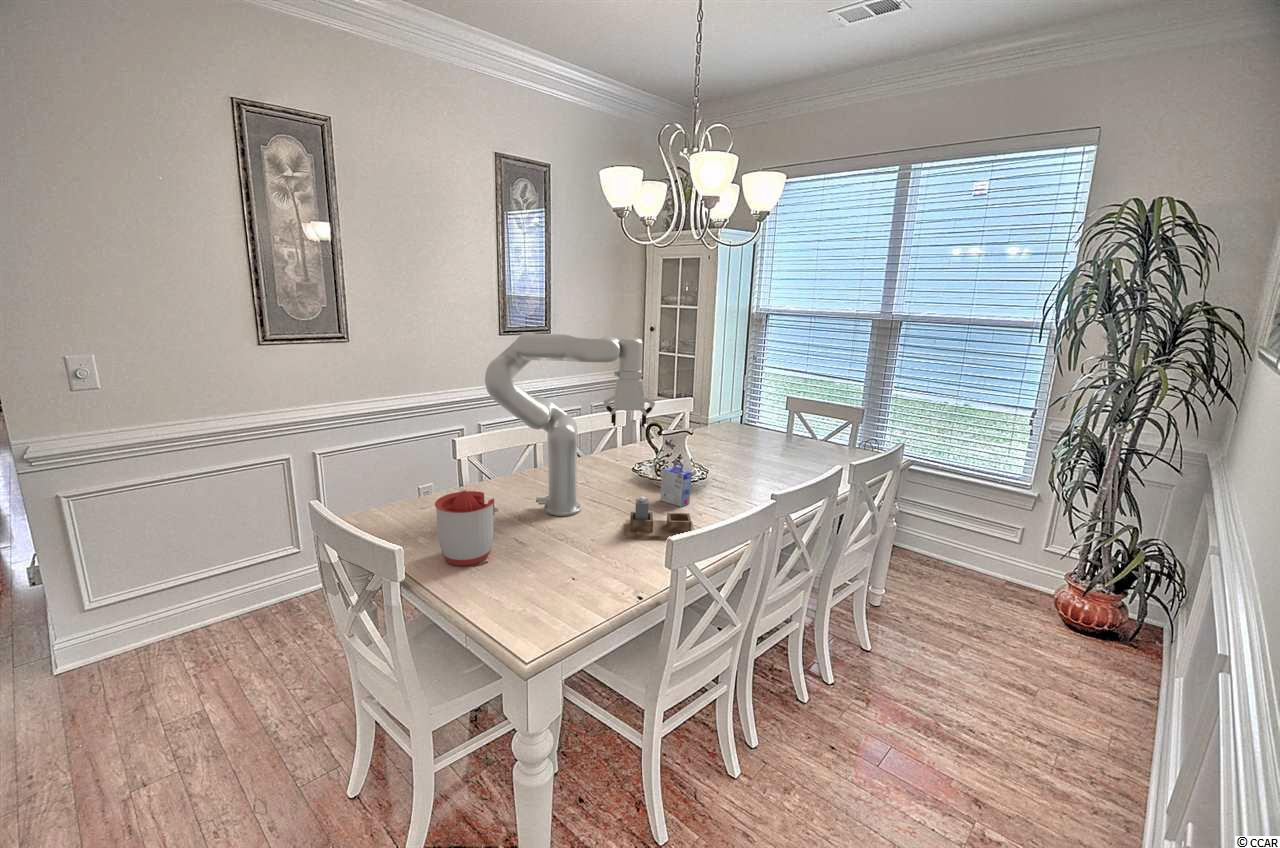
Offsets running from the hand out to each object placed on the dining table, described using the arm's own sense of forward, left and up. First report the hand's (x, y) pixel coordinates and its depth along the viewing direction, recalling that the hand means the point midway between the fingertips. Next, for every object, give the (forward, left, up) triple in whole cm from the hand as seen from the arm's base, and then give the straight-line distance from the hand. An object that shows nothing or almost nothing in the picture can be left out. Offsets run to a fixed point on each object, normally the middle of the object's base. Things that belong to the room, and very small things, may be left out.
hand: (628, 425), depth 190 cm
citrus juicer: (-44, -38, -31) cm, 66 cm away
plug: (+5, -18, -29) cm, 35 cm away
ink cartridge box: (+18, +8, -31) cm, 36 cm away
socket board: (+11, -18, -30) cm, 37 cm away
